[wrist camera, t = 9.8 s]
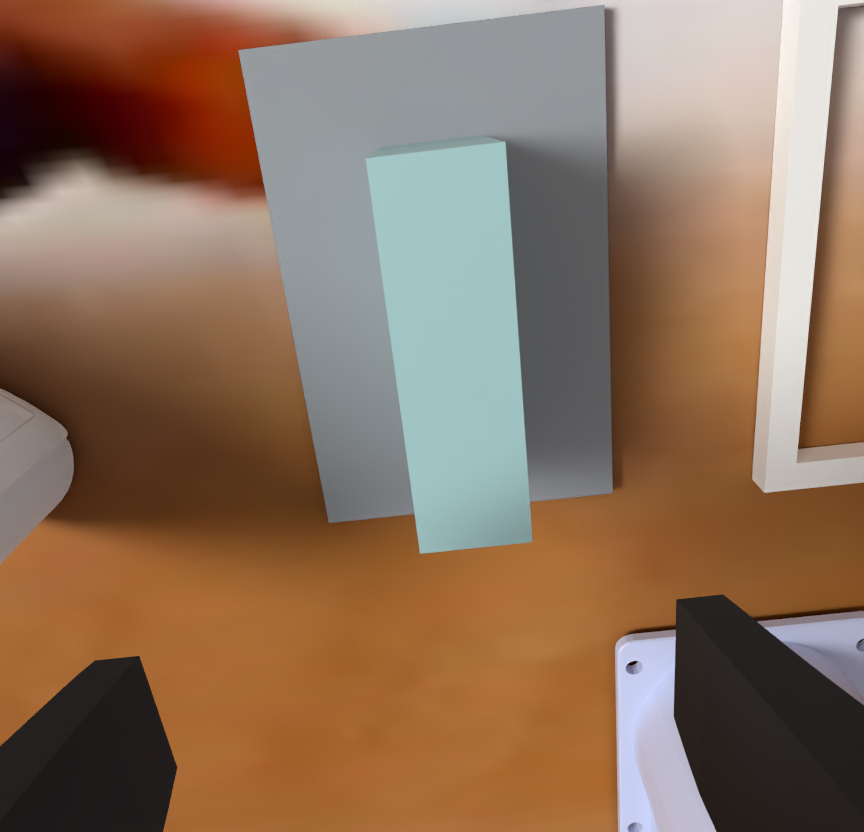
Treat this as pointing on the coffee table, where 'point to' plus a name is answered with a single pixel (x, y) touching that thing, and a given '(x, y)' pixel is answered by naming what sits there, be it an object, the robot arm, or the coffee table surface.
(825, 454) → the rack
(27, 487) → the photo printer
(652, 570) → the coffee table surface
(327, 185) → the mat
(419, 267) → the pale teal block
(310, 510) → the coffee table surface
